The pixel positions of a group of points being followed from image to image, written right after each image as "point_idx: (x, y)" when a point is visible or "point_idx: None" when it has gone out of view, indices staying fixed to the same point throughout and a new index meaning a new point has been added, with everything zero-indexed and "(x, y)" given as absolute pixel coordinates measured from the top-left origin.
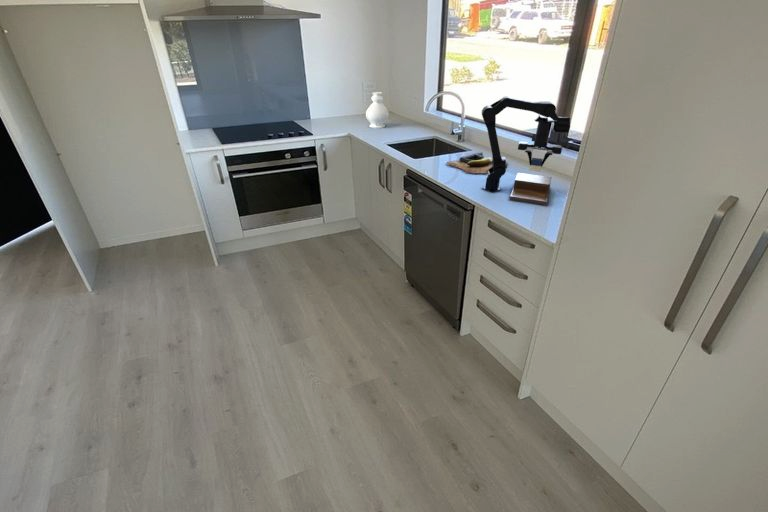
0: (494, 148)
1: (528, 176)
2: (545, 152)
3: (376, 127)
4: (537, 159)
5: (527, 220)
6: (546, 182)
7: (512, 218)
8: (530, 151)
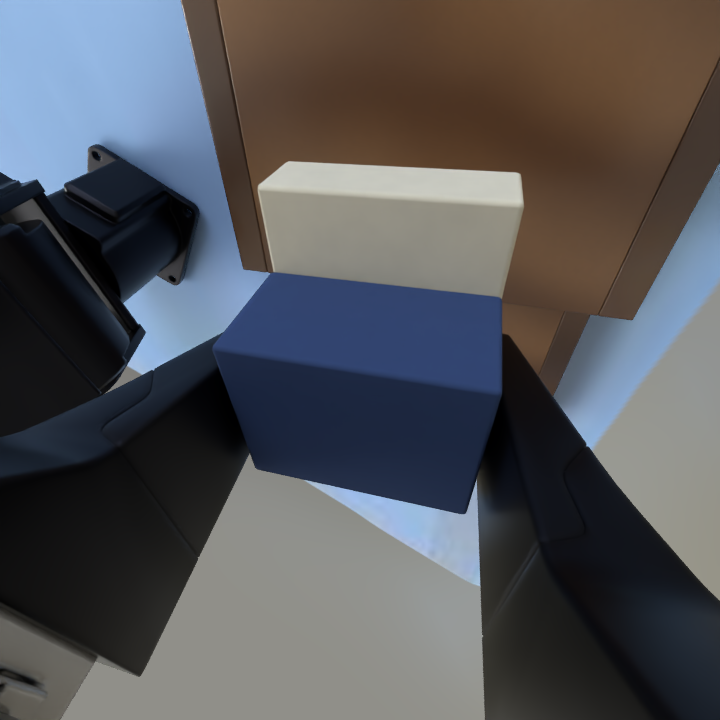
0: None
1: (357, 47)
2: (589, 658)
3: None
4: (357, 454)
5: (420, 522)
6: (605, 254)
7: (364, 511)
8: (94, 657)
